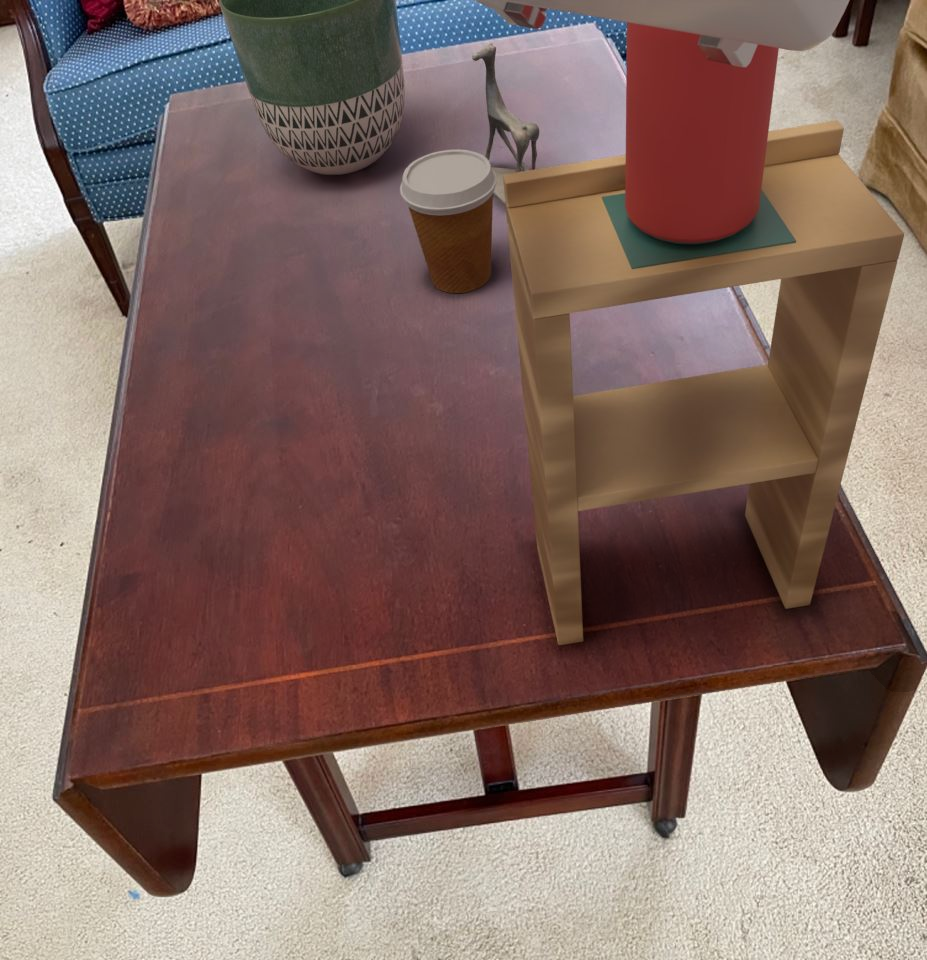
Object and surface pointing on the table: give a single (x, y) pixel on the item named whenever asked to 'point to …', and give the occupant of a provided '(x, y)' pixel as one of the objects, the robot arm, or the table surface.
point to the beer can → (693, 136)
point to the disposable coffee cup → (452, 216)
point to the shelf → (712, 397)
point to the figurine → (505, 123)
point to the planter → (322, 77)
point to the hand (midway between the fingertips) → (630, 26)
